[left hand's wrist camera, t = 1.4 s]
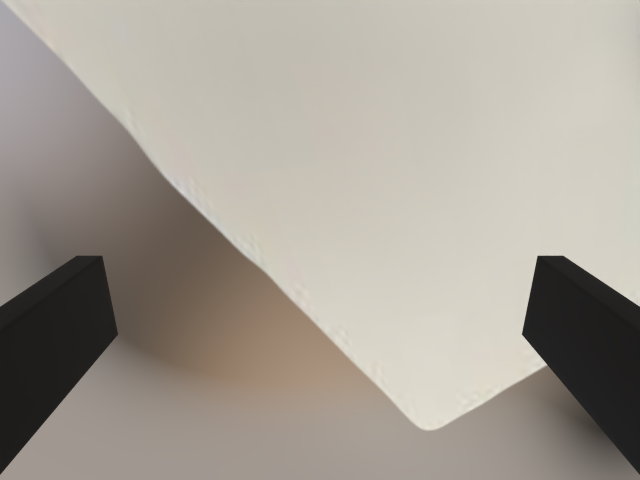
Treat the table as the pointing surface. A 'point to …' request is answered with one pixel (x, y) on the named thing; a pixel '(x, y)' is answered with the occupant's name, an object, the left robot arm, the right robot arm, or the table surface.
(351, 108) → the table surface
